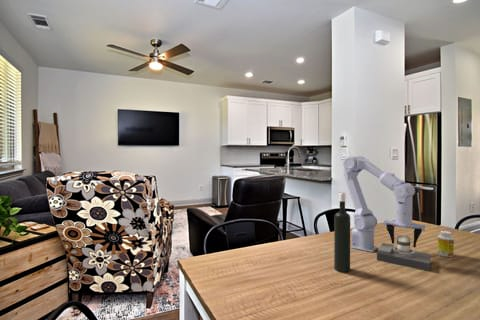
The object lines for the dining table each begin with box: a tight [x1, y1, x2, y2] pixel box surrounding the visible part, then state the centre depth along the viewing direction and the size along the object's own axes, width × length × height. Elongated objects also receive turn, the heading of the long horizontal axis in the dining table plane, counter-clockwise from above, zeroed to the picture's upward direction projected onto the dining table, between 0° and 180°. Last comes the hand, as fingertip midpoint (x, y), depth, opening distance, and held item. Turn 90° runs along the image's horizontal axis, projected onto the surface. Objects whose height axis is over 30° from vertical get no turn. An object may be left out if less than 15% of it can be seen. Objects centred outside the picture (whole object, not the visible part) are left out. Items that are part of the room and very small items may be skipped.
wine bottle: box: [333, 191, 351, 273], centre depth 101 cm, size 6×6×30 cm
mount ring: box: [393, 246, 416, 257], centre depth 110 cm, size 8×8×2 cm
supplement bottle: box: [437, 230, 455, 258], centre depth 115 cm, size 6×6×10 cm
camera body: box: [376, 242, 432, 272], centre depth 110 cm, size 18×12×4 cm, turn 52°
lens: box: [396, 234, 411, 253], centre depth 109 cm, size 5×5×7 cm
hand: (403, 244), depth 110 cm, fingers open, 7 cm apart
